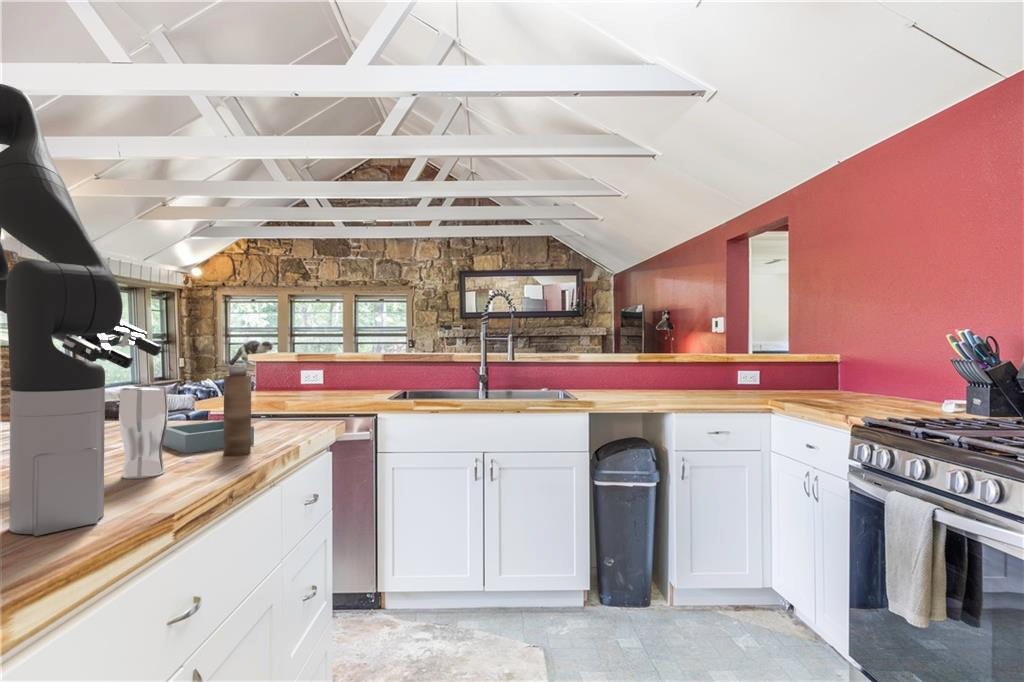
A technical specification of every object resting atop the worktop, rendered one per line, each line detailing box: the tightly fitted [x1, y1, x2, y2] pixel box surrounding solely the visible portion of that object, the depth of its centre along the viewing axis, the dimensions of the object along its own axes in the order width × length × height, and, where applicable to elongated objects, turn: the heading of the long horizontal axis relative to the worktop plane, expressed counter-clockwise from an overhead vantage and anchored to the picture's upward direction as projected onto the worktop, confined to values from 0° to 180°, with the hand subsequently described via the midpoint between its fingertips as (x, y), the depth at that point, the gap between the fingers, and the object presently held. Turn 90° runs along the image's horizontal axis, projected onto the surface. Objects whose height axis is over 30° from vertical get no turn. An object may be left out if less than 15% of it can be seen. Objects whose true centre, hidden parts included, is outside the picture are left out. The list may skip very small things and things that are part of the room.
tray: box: [162, 419, 255, 454], centre depth 117 cm, size 14×14×4 cm
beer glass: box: [118, 385, 169, 480], centre depth 91 cm, size 7×7×15 cm
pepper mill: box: [222, 365, 252, 457], centre depth 108 cm, size 5×5×18 cm
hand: (145, 357), depth 100 cm, fingers open, 8 cm apart
